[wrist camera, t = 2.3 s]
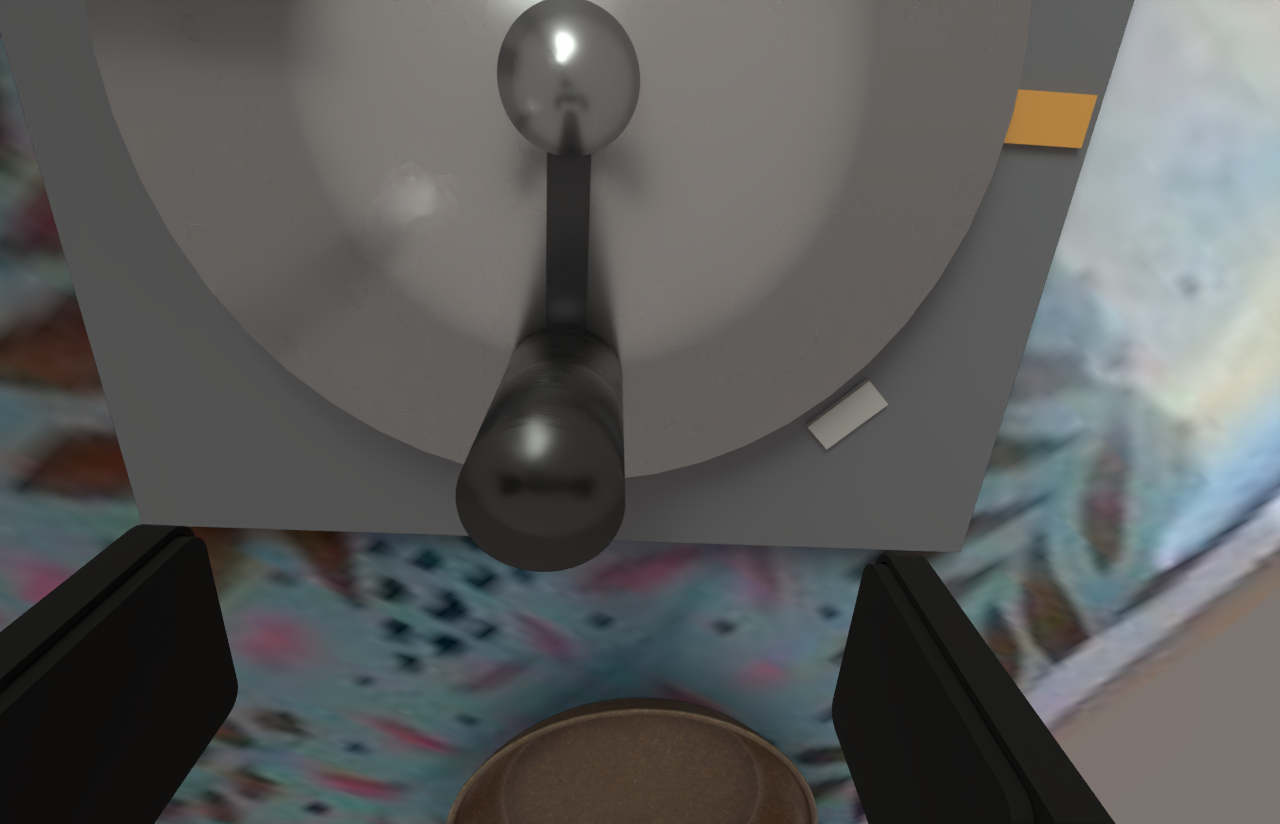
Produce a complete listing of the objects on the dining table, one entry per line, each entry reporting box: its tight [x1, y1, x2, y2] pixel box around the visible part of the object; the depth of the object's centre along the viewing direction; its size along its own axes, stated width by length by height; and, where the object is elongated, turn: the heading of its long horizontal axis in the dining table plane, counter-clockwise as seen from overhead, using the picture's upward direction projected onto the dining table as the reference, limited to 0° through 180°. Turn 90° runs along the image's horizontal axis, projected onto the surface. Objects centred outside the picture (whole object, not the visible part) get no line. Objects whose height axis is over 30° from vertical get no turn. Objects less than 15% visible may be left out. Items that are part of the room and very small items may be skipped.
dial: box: [84, 0, 1031, 572], centre depth 12 cm, size 20×20×7 cm
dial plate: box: [0, 0, 1134, 552], centre depth 16 cm, size 26×26×2 cm
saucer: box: [446, 698, 818, 824], centre depth 27 cm, size 15×15×3 cm
